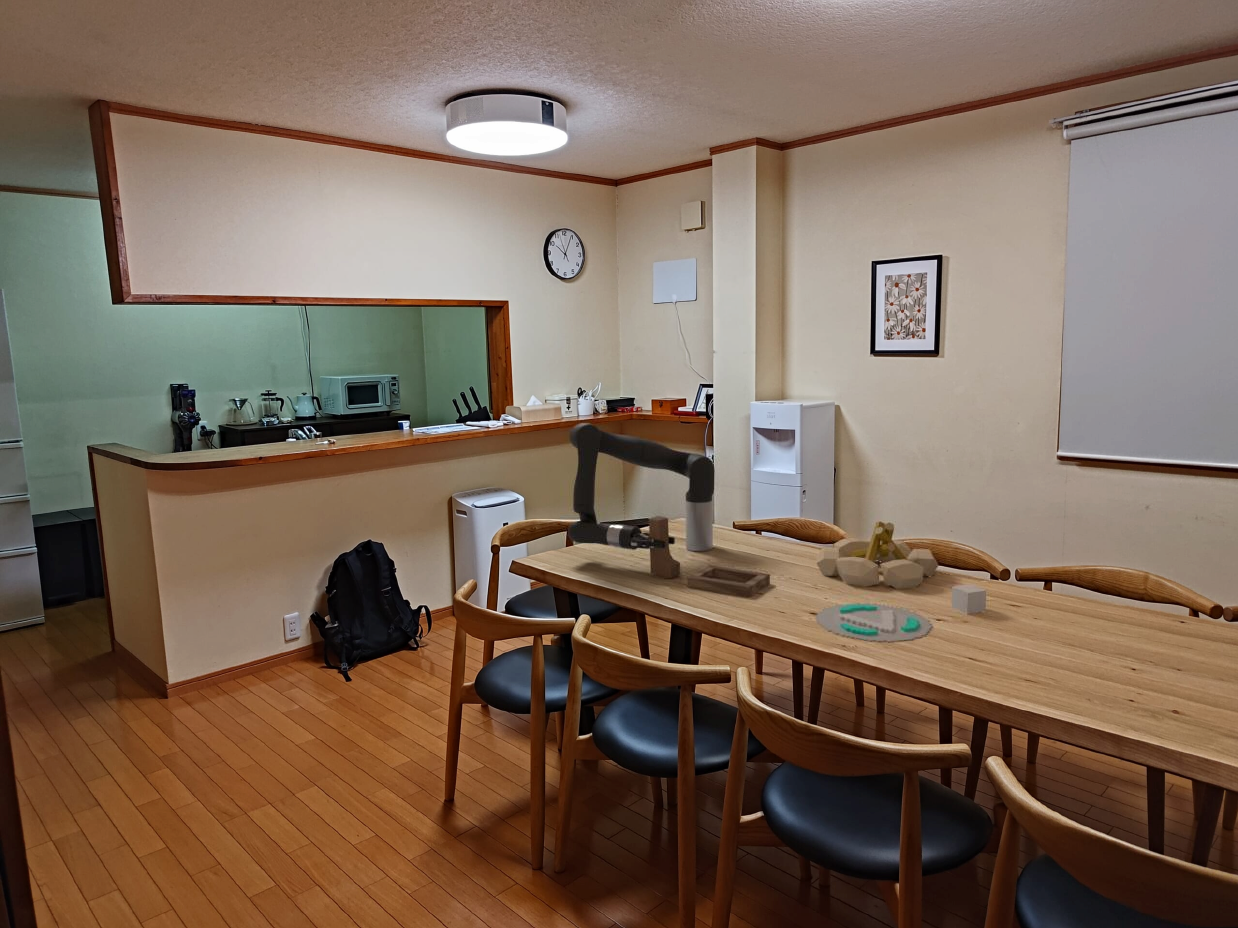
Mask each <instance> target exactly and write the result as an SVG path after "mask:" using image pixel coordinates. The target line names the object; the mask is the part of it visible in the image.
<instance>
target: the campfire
mask: <svg viewBox="0 0 1238 928" xmlns="http://www.w3.org/2000/svg"><path fill="white" fill-rule="evenodd" d="M894 530H895V524H894V523H892V522H890V521H889V522H887V523H884V522H882V521H877V522H875V526H874V529H873V531H872V534H871V538H870V541H869V540H868V539H864V538H863V539H862V538H855V537H851V538H850V537H849V538H843V539H840V540H839V541H837V542H835V543H833V547H832V546H831V547H829V546H826V547H825V546H823V547H822V548H821V550H820V552H819V553H818V555H817V557H816V558H815V561H816V562H815V563H816V565H817V567H818V568H819V571H820V573H821V574H822V575H823V576H825V577H826V576H827V577H828V576H829V577H840V578H841V579H842V582H844V584H846V585H851V586H856V587H863V588H864V587H865V588H866V587H867V588H868V587H870V586H873V585H878V584H880V574H879V566H880V568H881V573H882V576H883V580H884V583H886V584H888V585H889V586H891V587H893V588H895V589H897V590H900V589H913V587H915V588H917V587H918V586H919V585H920V584H921V583H922V582H923V580H924V577H923V576H931V577H932V575H933V574H934V573H935V571H936V570H937V569H938V567H939V564H938V562H937V560H936V558H935V557H934V555H933V553H932V552H931V550H930V548H928V549H926V548H914V549H911V548H910V547H909V545H908V544H907V543H906V542H905V541H903V540H895V539H893V535H894V532H895V531H894ZM876 560H878V561H881V562H880V564H879V565H878V564H877V563H875V562H876ZM881 563H883V564H881Z"/></svg>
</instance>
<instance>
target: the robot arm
mask: <svg viewBox="0 0 1238 928" xmlns="http://www.w3.org/2000/svg"><path fill="white" fill-rule="evenodd" d="M568 435H569V441H570V443H571V444H572V446H573V448H575V449H576V450H577V462H578V463H577V469H576V470H577V471H576V476H575V480H574V486H573V499H572V500H573V501H572V502H573V503H572V508H573V512H574V513H576V514H578V515H579V516H578V517H579V520H577V521H575V522H572V523H571V524H570V525H569V527H568V529H567V534H568V535H567V536H568V537H569V538H570V540H571V541H572V542H575V543H579V544H598V545H603V546H609V547H610V546H611V547H615V548H620V549H627V550H633V551H635V550H637V549H645V550H646V549H647V550H650V547H651V548H654V547H657V548H666V542H665V541H661V540H655V541H654V539H651V538H650V537H649V531H643V532H642V529H641V528H640V527H638V526H635V525H627V524H620V523H619V524H613V523H607V522H606V523H604V522H601V523H598V521H597V515H596V511H595V492H596V491H595V489H596V488H595V487H596V482H595V481H596V469H597V463H598V456H599V453H601V454H605V455H608V456H611V457H613V458H615V459H618V460H621V461H623V462H625V463H629V464H630V465H635V466H638V467H643V468H647V469H655V470H665V471H669V472H673V473H676V474H679V475H682V476H683V477H686V478H688V479H689V482H688V483H689V484H688V491H686V493H685V546H686V547H685V548H686V550H688V551H692V552H706V551H710V550H712V549H713V546H714V538H713V536H714V535H713V533H714V532H713V529H714V528H713V527H714V526H713V524H714V522H713V496H714V493H715V478H716V477H715V475H716V472H715V464H714V462H713V460H712V459H711V458H710V457H708V456H705V455H703V454H699V453H692V452H686V451H685V452H684V451H679V450H675V449H672V448H669V447H667V446H665V445H663V444H660V443H658V442H655V441H651V440H649V439H646V438H640V437H637V436H633V435H626V434H625V435H624V434H616V433H612V432H608V431H605V430H604V429H599V428H598V427H597V426H596V425H595V424H593V423H588V422H587V423H586V422H581V423H578V424H576V425H574V426H573V427H571V430H570V431H569V433H568ZM675 544H676V538H675V537H674V536H669V545H675Z"/></svg>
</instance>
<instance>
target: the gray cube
mask: <svg viewBox="0 0 1238 928" xmlns="http://www.w3.org/2000/svg"><path fill="white" fill-rule="evenodd" d="M986 604H987V590H986V589H984V588H981V587H978V586H976V585H974V584H970V583H968V584H960V585H954V586H952V587H951V605H950V607H953V608H955V609H954V610H956V609H958V610H960V611H962V612H964V613H963V614H965V613H967V614H966V615H970V614H969V613H974V614H977V613H976V612H981V613H984V612H983V611H985V612H986V606H987V605H986ZM953 608H952V609H953ZM958 610H957V611H958ZM960 611H959V612H960ZM962 612H961V613H962Z"/></svg>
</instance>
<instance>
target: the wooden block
mask: <svg viewBox="0 0 1238 928" xmlns="http://www.w3.org/2000/svg"><path fill="white" fill-rule="evenodd" d="M648 530H649V531H648V532H649V537H650V538H651V539H654V541H655V540H661V541H665V542H666V548H657V547H654V548H651V547H650V548H649V558H650V559H649V561H650V563H649V564H650V573H651V575H652V574H653V575H656V576H659V577H662V578H663V577H664V578H667V579H675V578H677V577H680V576H681V563H680V561H678V560H676V559H674V558H673V556H672V554H671V551H670V544H669V537H670V536H669V533H670V532H669V531H670V530H669V518H668V517H665V516H660V515H657V516H653V517H650V518H648Z"/></svg>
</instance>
